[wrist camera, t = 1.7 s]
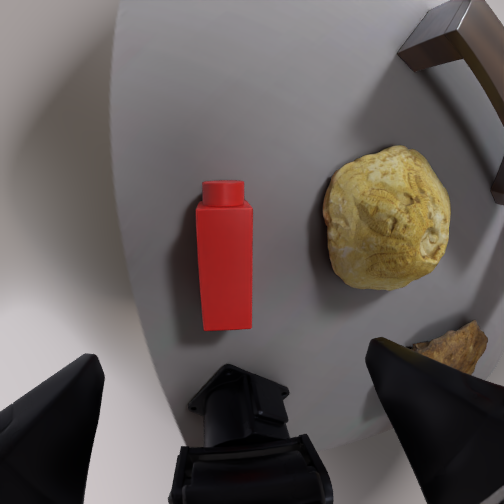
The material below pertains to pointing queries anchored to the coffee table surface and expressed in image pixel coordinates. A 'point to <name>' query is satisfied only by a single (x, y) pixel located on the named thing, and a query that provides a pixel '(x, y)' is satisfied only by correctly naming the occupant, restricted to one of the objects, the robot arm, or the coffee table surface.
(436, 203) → the fossil
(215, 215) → the red square bottle
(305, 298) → the coffee table surface
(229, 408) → the robot arm
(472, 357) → the decorative rock
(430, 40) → the shelf
